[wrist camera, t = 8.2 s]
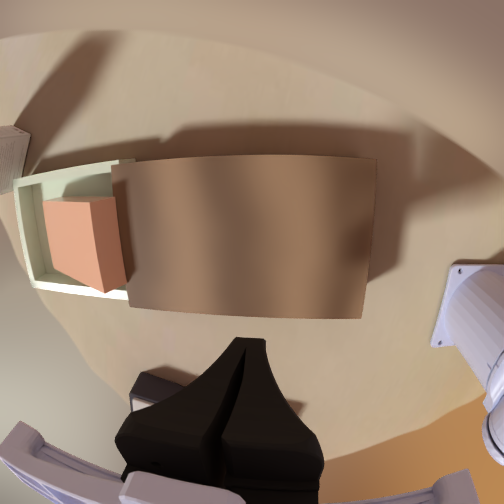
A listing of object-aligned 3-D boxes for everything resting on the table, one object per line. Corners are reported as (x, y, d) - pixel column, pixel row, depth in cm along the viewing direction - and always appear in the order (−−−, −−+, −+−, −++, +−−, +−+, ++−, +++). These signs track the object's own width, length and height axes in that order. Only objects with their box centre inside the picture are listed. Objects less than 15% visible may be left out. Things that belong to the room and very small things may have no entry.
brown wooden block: (360, 157, 19) (376, 159, 15) (350, 291, 22) (361, 318, 18) (139, 161, 21) (110, 165, 17) (151, 284, 24) (129, 306, 20)
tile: (115, 196, 17) (89, 202, 16) (127, 283, 19) (104, 293, 18) (61, 196, 22) (42, 201, 20) (71, 261, 23) (54, 268, 22)
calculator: (255, 479, 27) (133, 450, 27) (257, 452, 32) (143, 425, 31) (281, 434, 24) (125, 397, 24) (281, 402, 28) (140, 369, 28)
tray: (135, 158, 20) (118, 159, 18) (148, 287, 24) (136, 301, 22) (30, 176, 22) (12, 179, 20) (46, 277, 25) (32, 287, 23)
